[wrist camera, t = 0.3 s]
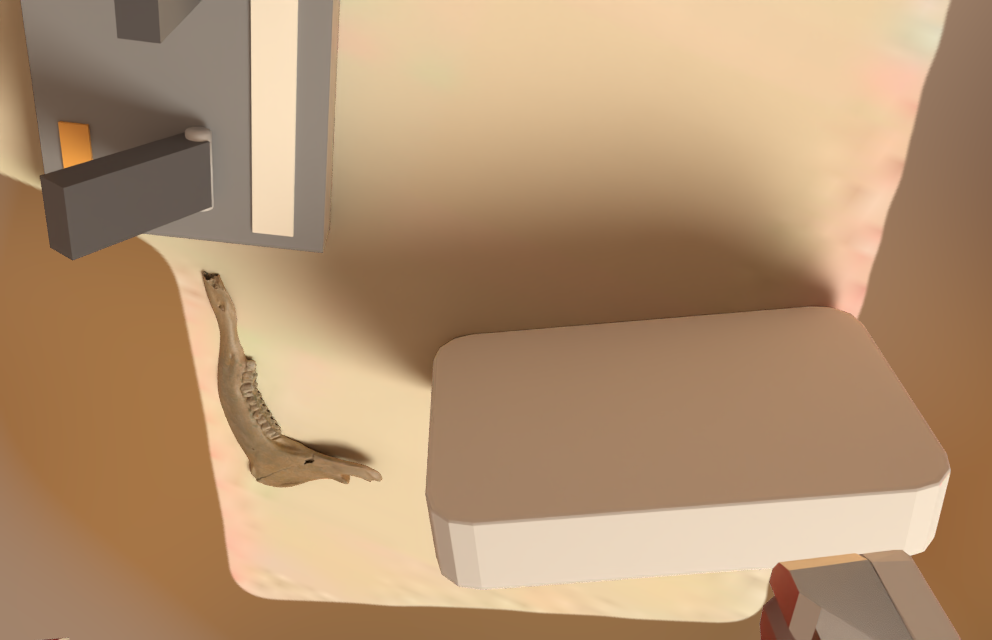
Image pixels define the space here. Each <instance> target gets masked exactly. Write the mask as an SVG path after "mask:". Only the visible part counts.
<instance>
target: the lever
mask: <svg viewBox="0 0 992 640" xmlns="http://www.w3.org/2000/svg"><path fill="white" fill-rule="evenodd" d="M40 180H41V187H42V194H43V201H44V208H45V215H46V222H47V228H48V236H49V242H50V248H52V249H54V250H56V251H57V252H59V253H61V254H62V255H64V256H66V257H68V258H69V259H71V260H75V259H77V258H80V257H83V256H85V255H88V254H91V253H93V252H96V251H98V250H101V249H104V248H106V247H109V246H111V245H114V244H117V243H119V242H122V241H124V240H127V239H130V238H132V237H135V236H137V235H140V234H143V233H145V232H148V231H150V230H153V229H156V228H158V227H161V226H163V225H166V224H169V223H171V222H174V221H176V220H179V219H182V218H184V217H187V216H189V215H192V214H195V213H197V212H205V211H209V210H211V209H213V207H214V196H213V165H212V134H211V130H210V129H208V128H205V127H190V128H187V129H186V130H185V132H184V133H181V134H177V135H174V136H171V137H167V138H164V139H161V140H157V141H154V142H150V143H147V144H144V145H140V146H137V147H134V148H130V149H127V150H124V151H120V152H117V153H114V154H110V155H107V156H104V157H100V158H97V159H94V160H90V161H87V162H84V163H80V164H77V165H74V166H70V167H67V168H64V169H60V170H57V171H54V172H50V173H47V174H44V175H40Z"/></svg>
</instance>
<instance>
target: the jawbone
mask: <svg viewBox="0 0 992 640" xmlns="http://www.w3.org/2000/svg"><path fill="white" fill-rule="evenodd" d="M206 274H208V273H206V272H203V279H204V284H205V288H206V291H207V294H208V297H209V300H210V303H211V306H212V308H213V310H214V313H215V315H216V318H217V321H218V324H219V329H220V353H219V364H218V391H219V398H220V401H221V405H222V408H223V410H224V413H225V416H226V418H227V421H228V423H229V425H230V428H231V430H232V432H233V434H234V435H235V437H236V439H237V441H238V443H239V444H240V446H241V447H242V449H243V450H244V452H245V453H246V455H247V457H248V459H249V460H250V471H251V473H252V475H253V476H254V477H255V478H256V480H257V481H258V482H261V483H263V484H265V485H269V486H274V487H292V486H295V485H299V484H303V483H305V482H308V481H312V480H317V479H334V480H336V481H339V482H341V483H344V484H348V483H349V480H350V475H351V476H356V477H360V478H363V479H365V480H367V481H369V482H371V481H372V480H376V481H381V480H382V476H381V474H380V473H379V472H378V471H376V470H374V469H372V468H370V467H368V466H365V465H362V464H358V463H354V462H350V461H345V460H341V459H338V458H334V457H330V456H327V455H324V454H321V453H318V452H316V451H314V450H312V449H310V448H307V447H305V446H304V445H303V444H301V443H299V442H297V441H294V440H292V439H290V438H288V437H286V436H284V435H282V434H281V430H280V428H281V427H280V426H279V425H276V424H275V423H276V422H277V421H276V420H274V419H271V418H270V417H271V416H272V414H271V412H268V411H267V409H268V407H267V406H263V404H264V400H262V399H261V398H260V397H262V395H261V393H258V389H255V387H257V385H258V383H255V380H256V377H257V373H256V371H255V370H254V369H256V366H257V365H256V362H255V361H254V360H247V359H246V357H245V355H244V351H243V348H242V346H241V344H240V341H239V338H238V334H237V316H236V311H235V307H234V304H233V302H232V300H231V298H230V297H229V295H228V294H227V292H226V289H225V287H224V285H223V282H222V280H221V278H220V275H218V276H217V275H216V274H215V275H216V276H213V278H210V280H206V278H205V277H206ZM209 276H212V274H211V275H209ZM215 285H216V286H215ZM252 448H253V449H254V450H253V449H252Z"/></svg>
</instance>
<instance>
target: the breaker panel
mask: <svg viewBox="0 0 992 640" xmlns="http://www.w3.org/2000/svg"><path fill="white" fill-rule="evenodd" d="M21 7H22V15H23V22H24V29H25V36H26V43H27V50H28V58H29V65H30V72H31V79H32V86H33V93H34V101H35V108H36V115H37V122H38V129H39V136H40V144H41V151H42V158H43V165H44V172H45V174H47V173H50V172H54V171H57V170H60V169H64V168H67V167H70V166H74V165H77V164H80V163H84V162H87V161H90V160H94V159H97V158H100V157H104V156H107V155H110V154H114V153H117V152H120V151H124V150H127V149H130V148H134V147H137V146H140V145H144V144H147V143H150V142H154V141H157V140H161V139H164V138H167V137H171V136H174V135H177V134H181V133H184V132H185V130H186V129H187V128H190V127H205V128H208V129H210V130H211V134H212V165H213V196H214V207H213V209H211V210H209V211H205V212H197V213H195V214H192V215H189V216H187V217H184V218H182V219H179V220H176V221H174V222H171V223H169V224H166V225H163V226H161V227H158V228H156V229H153V230H150V231H148V232H145V233H143V234H152V235H161V236H170V237H179V238H189V239H198V240H207V241H216V242H226V243H235V244H244V245H254V246H263V247H272V248H281V249H291V250H300V251H309V252H318V253H323V251H324V248H325V244H326V240H327V237H328V233H329V230H330V212H331V189H332V167H333V144H334V121H335V98H336V76H337V53H338V30H339V7H340V0H202V1H201V2H200V3H199V4H198V5H197V6H196V7H195V8H194V9H193V10H192V11H191V12H190V13H189V14H188V15H187V17H186V18H185V19H184V20H183V21H182V22H181V23H180V24H179V25H178V26H177V27H176V28H175V29H174V30H173V31H172V32H171V33H170V34H169V35H168V37H167V38H166V39H165V40H164V41H163V42H162V43H161V44H159V43H151V42H143V41H135V40H127V39H119V38H117V29H116V17H115V5H114V0H21Z"/></svg>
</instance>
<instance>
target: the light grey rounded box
mask: <svg viewBox="0 0 992 640" xmlns="http://www.w3.org/2000/svg"><path fill="white" fill-rule="evenodd" d="M950 472H951V470H950V466H949V462H948V457H947V453H946V452H945V450H944V449H943V447H942V446H941V444H940V443H939V441H938V439H937V438H936V436H935V435H934V433H933V432H932V430H931V429H930V427H929V426H928V424H927V422H926V421H925V419H924V418H923V416H922V415H921V413H920V412H919V410H918V408H917V407H916V405H915V404H914V402H913V401H912V399H911V398H910V396H909V395H908V393H907V391H906V390H905V388H904V387H903V385H902V384H901V382H900V381H899V379H898V378H897V376H896V374H895V373H894V371H893V370H892V368H891V367H890V365H889V364H888V362H887V360H886V359H885V357H884V356H883V354H882V353H881V351H880V350H879V348H878V347H877V345H876V343H875V342H874V340H873V339H872V337H871V336H870V334H869V333H868V331H867V330H866V328H865V327H864V325H863V324H862V323H861V322H860V321H859V320H857V319H856V318H855V317H854V316H853V315H852V314H850V313H847V312H844V311H841V310H838V309H835V308H832V307H816V306H808V307H796V308H784V309H772V310H760V311H748V312H736V313H724V314H712V315H699V316H687V317H675V318H663V319H651V320H639V321H627V322H615V323H603V324H591V325H578V326H566V327H554V328H542V329H530V330H518V331H506V332H494V333H482V334H472V335H467V336H463V337H459V338H455V339H453V340H451V341H450V342H448V343H446V344H445V345H443V346H442V347H440V348H439V350H438V352H437V354H436V356H435V358H434V360H433V375H432V392H431V409H430V426H429V442H428V459H427V476H426V493H425V495H426V501H427V506H428V512H429V518H430V524H431V529H432V535H433V541H434V547H435V553H436V558H437V561H438V564H439V567H440V570H441V574H442V575H443V576H445V577H446V578H448V579H449V580H450V581H452V582H453V583H454V584H456V585H457V586H459V587H466V588H473V589H480V590H487V589H500V588H516V587H529V586H543V585H556V584H569V583H583V582H596V581H609V580H621V579H633V578H647V577H660V576H673V575H687V574H700V573H713V572H727V571H740V570H753V569H773V568H774V567H775V566H776V565H777V564H778V563H779V562H785V561H794V560H802V559H810V558H819V557H827V556H835V555H844V554H852V553H856V554H865V553H873V552H881V551H889V550H903V551H904V552H906V553H907V554H908V555H909V556H910V555H914V554H917V553H920V552H924V551H925V549H926V548H927V546H928V545H929V543H930V542H931V541H932V539H933V538H934V536H935V531H936V528H937V524H938V520H939V516H940V512H941V508H942V504H943V499H944V496H945V491H946V488H947V484H948V479H949V476H950Z"/></svg>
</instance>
